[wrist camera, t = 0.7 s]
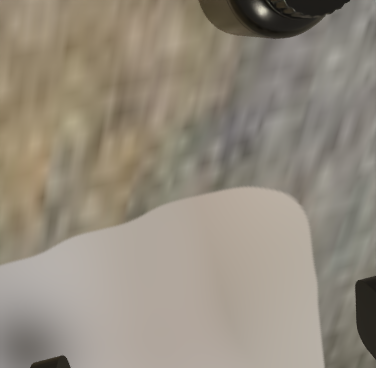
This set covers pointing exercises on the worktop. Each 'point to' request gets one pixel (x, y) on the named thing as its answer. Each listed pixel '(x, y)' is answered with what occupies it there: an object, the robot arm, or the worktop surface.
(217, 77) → the worktop surface
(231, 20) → the supplement bottle
